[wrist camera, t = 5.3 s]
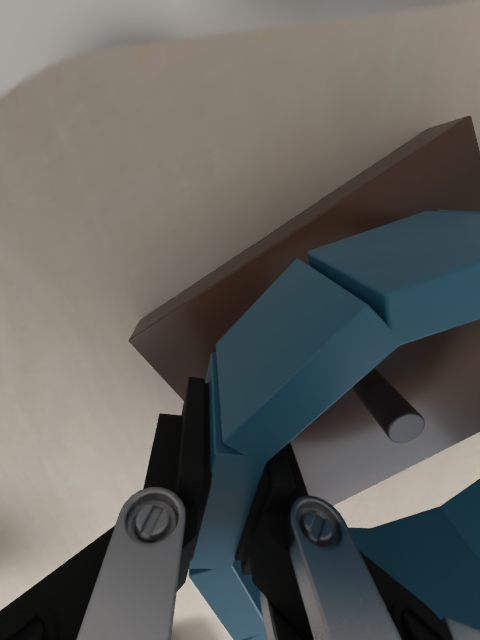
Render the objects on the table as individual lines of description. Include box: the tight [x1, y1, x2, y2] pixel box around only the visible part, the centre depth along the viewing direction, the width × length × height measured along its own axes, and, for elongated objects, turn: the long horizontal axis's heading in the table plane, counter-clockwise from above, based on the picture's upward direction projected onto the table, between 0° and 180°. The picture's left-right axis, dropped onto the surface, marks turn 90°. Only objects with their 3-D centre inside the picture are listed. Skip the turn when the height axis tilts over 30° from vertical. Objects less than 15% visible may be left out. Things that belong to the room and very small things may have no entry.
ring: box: [189, 210, 480, 640], centre depth 10 cm, size 17×17×4 cm
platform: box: [129, 116, 480, 506], centre depth 15 cm, size 17×17×6 cm
